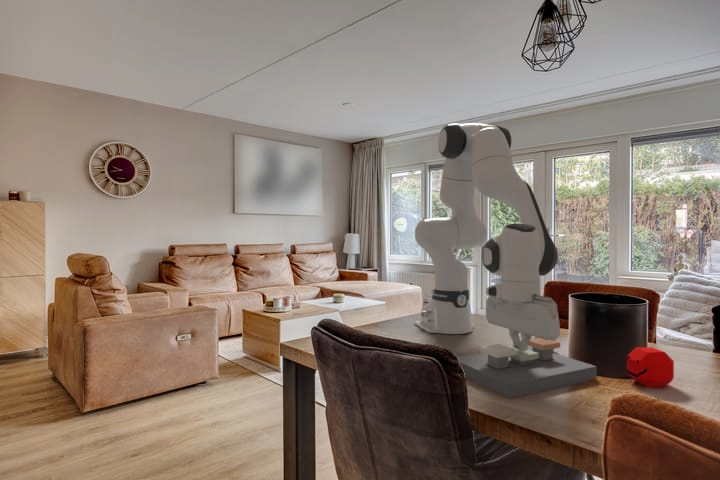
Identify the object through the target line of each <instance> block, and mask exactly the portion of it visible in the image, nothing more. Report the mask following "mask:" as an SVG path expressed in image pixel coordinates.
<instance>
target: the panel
mask: <svg viewBox="0 0 720 480" xmlns="http://www.w3.org/2000/svg"><path fill="white" fill-rule="evenodd" d="M512 348H513V347H512ZM513 349H514V348H513ZM527 350H530V351H533V347H531V346H528V349H527ZM456 357H457V358H458V360H459V362H460V365H461V366H462V368H463V370H464V373H465V376H466V377H465V378H466V379H469V380H471V381H472V382H475V383H477V384H479V385H481V386H482V387H486V388H487V389H490V390H491V391H494V393H497V394H499V395H502V396H503V397H505V398H508V399H514V398H518V397H524V396H528V395H533V394H537V393H541V392H547V391H549V390H554V389H559V388H563V387H567V386H568V387H570V386H572V385H577V384H581V383H585V382H586V383H587V382H590V381H595V380H597V373H598V372H597V366H596V365H593V364H591V363H587V362H583V361H581V360H577V359H574V358H571V357H567V356H565V355H560V354H558V353H554V352H553V359H550V360H545V361H542V360H539V359H532V360H531V364H527V365H518V364H515V363H513V362H511V358H510V357H508V367H506V368H501V369H496V368H494V367H491V366H489V365H488V354H485V353H482V352H480V353H475V354H466V355H461V356H456Z"/></svg>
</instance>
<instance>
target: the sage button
mask: <svg viewBox="0 0 720 480" xmlns="http://www.w3.org/2000/svg"><path fill="white" fill-rule="evenodd" d="M508 357H510V358H511V362H513V363H515V364H518V365H527V364H531V360H532V359H538V358H539V353H537V352H534V351H530V350H527V351H520V350H518V349H516V355H513V356H508Z"/></svg>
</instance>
